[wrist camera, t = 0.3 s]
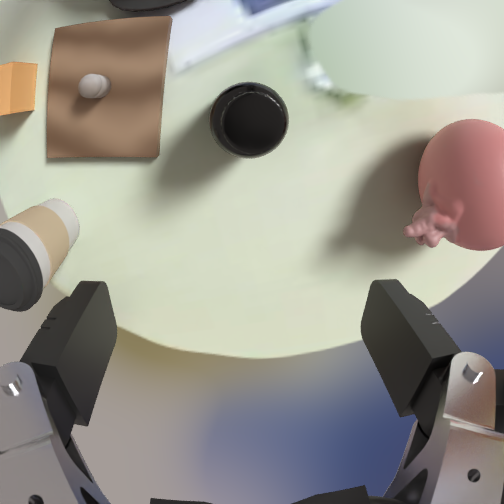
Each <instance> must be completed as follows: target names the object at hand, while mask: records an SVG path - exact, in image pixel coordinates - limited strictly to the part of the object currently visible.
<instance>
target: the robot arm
mask: <svg viewBox="0 0 504 504" xmlns="http://www.w3.org/2000/svg"><path fill="white" fill-rule="evenodd" d="M361 335H362V339H363V341H364V343H365V345H366V347H367V349H368V351H369V353H370V355H371V357H372V359H373V361H374V363H375V365H376V367H377V369H378V371H379V373H380V375H381V377H382V379H383V382H384V384H385V386H386V388H387V390H388V392H389V394H390V397H391V399H392V401H393V403H394V405H395V407H396V409H397V412H398V414H399V416H400V417H404V416H408V415H412V414H415V415H416V418H417V420H416V421H415V423H414V425H413V427H412V430H411V434H410V437H409V440H408V443H407V446H406V449H405V452H404V455H403V458H402V460H401V463H400V466H399V469H398V471H397V474H396V476H395V478H394V480H393V481H392V483H391V485H390V486H389V488H388V489H387V491H386V492H385V494H384V496H383V497H378V496H368V494H367V491H366V487H365V485H363V486H359V487H355V488H350V489H345V490H340V491H335V492H329V493H323V494H317V495H314V496H311V497H309V498H307V499H303V500H301V501H298V502H295V503H292V504H500V503H501V504H504V370H498V369H493V367H492V365H491V364H490V363H489V362H488V361H487V360H486V359H485V358H483V357H482V356H480V355H478V354H475V353H471V352H461V350H460V349H459V348H458V346H457V345H456V344H455V342H454V341H453V340H452V338H451V337H450V336H449V334H448V333H447V332H446V331H445V329H444V328H443V327H442V325H441V324H439V323H438V320H437V319H436V318H435V316H434V315H432V313H431V311H430V310H429V309H428V308H427V306H426V305H425V304H424V303H423V302H422V301H420V300H419V299H418V298H416V297H415V296H413V295H412V294H409V293H408V292H407V290H406V289H405V288H404V287H403V285H402V284H401V283H400V282H399V281H398V280H397V279H389V280H374V281H373V282H372V284H371V286H370V289H369V293H368V297H367V301H366V305H365V309H364V313H363V316H362V320H361ZM116 338H117V325H116V320H115V316H114V312H113V308H112V304H111V300H110V295H109V291H108V287H107V285H106V283H105V282H103V281H81V282H79V284H78V285H77V287H76V288H75V290H74V291H73V293H72V294H71V296H70V297H65V298H64V299H62V300H61V301H60V302H59V303H57V304H56V305H55V306H54V307H53V309H52V310H51V311H50V313H49V314H48V316H47V320H45V321H44V322H43V324H42V325H41V329H39V330H38V332H37V333H36V335H35V336H34V338H33V340H32V341H31V343H30V345H29V346H28V348H27V350H26V352H25V353H24V355H23V357H22V358H21V360H20V362H10V363H7V364H5V365H3V366H1V367H0V504H111V503H110V502H109V501H108V499H107V498H106V497H105V495H104V494H103V493H102V491H101V490H100V488H99V486H98V485H97V483H96V481H95V480H94V477H93V476H92V474H91V472H90V470H89V468H88V466H87V464H86V462H85V460H84V458H83V456H82V454H81V452H80V450H79V448H78V446H77V444H76V442H75V439H74V438H73V436H72V434H71V431H72V428H73V425H74V424H77V425H83V426H88V424H89V421H90V418H91V414H92V411H93V408H94V404H95V402H96V398H97V395H98V392H99V389H100V386H101V383H102V380H103V377H104V374H105V371H106V368H107V365H108V363H109V360H110V356H111V354H112V351H113V349H114V346H115V343H116ZM150 504H211V503H207V502H196V501H177V500H165V499H155V498H151V500H150Z"/></svg>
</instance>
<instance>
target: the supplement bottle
mask: <svg viewBox="0 0 504 504" xmlns="http://www.w3.org/2000/svg"><path fill="white" fill-rule="evenodd" d="M288 124H289V116H288V111H287V107H286V105H285V103H284V101H283V100H282V98H281V97H280V96H279V94H278V93H277V92H275V91H274V90H273V89H271V88H270V87H268V86H266V85H263V84H260V83H256V82H242V83H238V84H235V85H232V86H230V87H228V88H227V89H225V90H224V91H223V92H221V93H220V94H219V96H218V97H217V98H216V99H215V101H214V103H213V105H212V107H211V110H210V114H209V126H210V131H211V134H212V136H213V138H214V140H215V141H216V143H217V144H218V145H219V146H220V147H221V148H222V149H223V150H224V151H226V152H227V153H229V154H231V155H233V156H236V157H240V158H258V157H261V156H264V155H266V154H268V153H270V152H272V151H273V150H274V149H276V148H277V147H278V146H279V145H280V143H281V142H282V141H283V139H284V137H285V135H286V133H287V130H288Z"/></svg>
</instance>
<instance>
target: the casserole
mask: <svg viewBox="0 0 504 504" xmlns="http://www.w3.org/2000/svg"><path fill="white" fill-rule="evenodd" d="M109 1H110V2H111V3H112V5H113V6H115V7H117V8H119V9H121V10H125V11H134V12H136V11H151V10H155V9H160V8H166V7H169V6H172V5H175V4H178V3H181V2H184V1H186V0H109Z"/></svg>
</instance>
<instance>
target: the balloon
mask: <svg viewBox="0 0 504 504" xmlns="http://www.w3.org/2000/svg"><path fill="white" fill-rule="evenodd" d="M418 188H419V194H420V199H421V202H422V207H421V208H420V209H419V210H418V211H416V212H415V214H414V215H413V217H412V223H411V224H410V225H409V226H405V227H404V229H403V234H404V235H405V236H406V237H415V240H416V242H417V243H418V244H419V245H424V244H426V245H428V246H429V247H431V248H433V247H436V246H437V245H438V243H439V241H440V239H441V238H443V237H444V238H446V239H447V240H448V241H449V242H451V243H454V244H456V245H458V246H460V247H463V248H466V249H470V250H477V251H485V250H492V249H496V248H499V247H501V246H503V245H504V129H503V128H501V127H499V126H497V125H495V124H493V123H490V122H487V121H484V120H477V119H466V120H460V121H457V122H454V123H451V124H449V125H447V126H446V127H444V128H443V129H441V130H440V131H439V132H438V133H437V134H436V135H435V136H434V137H433V138H432V139H431V140H430V142H429V143H428V145H427V146H426V148H425V150H424V153H423V155H422V158H421V161H420V165H419V172H418Z"/></svg>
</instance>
